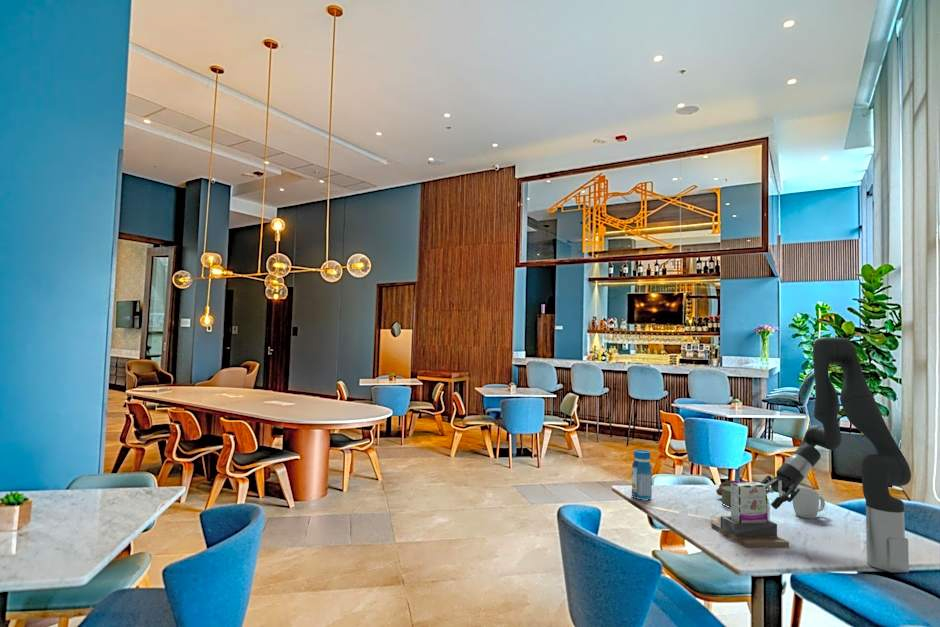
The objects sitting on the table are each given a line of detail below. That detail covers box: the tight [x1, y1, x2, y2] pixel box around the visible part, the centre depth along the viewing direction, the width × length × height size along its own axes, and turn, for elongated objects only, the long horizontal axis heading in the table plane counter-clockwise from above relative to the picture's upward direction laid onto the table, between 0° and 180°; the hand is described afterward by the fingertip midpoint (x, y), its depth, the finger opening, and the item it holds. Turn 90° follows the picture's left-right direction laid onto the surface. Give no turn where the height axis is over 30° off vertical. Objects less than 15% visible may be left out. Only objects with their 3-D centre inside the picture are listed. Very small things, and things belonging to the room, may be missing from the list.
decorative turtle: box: [715, 480, 748, 497], centre depth 234 cm, size 10×15×8 cm, turn 105°
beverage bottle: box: [631, 449, 653, 501], centre depth 230 cm, size 8×8×20 cm
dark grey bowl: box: [721, 486, 731, 508], centre depth 223 cm, size 12×12×7 cm
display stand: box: [710, 515, 790, 548], centre depth 184 cm, size 20×15×6 cm
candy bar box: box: [730, 481, 769, 523], centre depth 185 cm, size 11×5×16 cm, turn 102°
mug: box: [791, 487, 826, 519], centre depth 212 cm, size 13×9×10 cm
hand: (764, 503), depth 185 cm, fingers open, 8 cm apart
